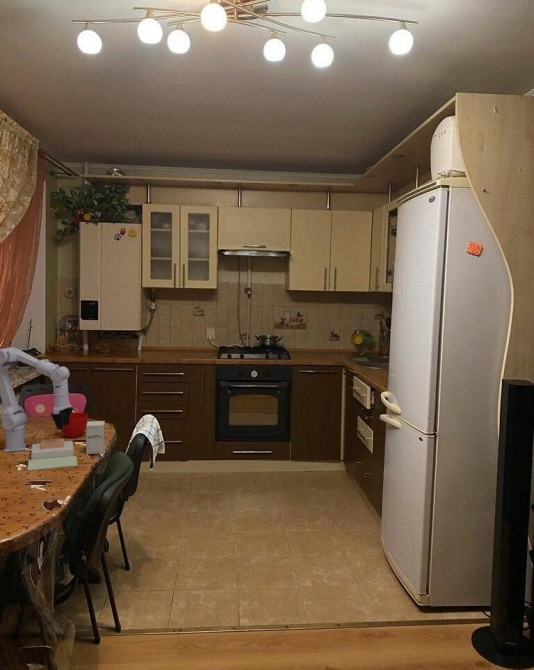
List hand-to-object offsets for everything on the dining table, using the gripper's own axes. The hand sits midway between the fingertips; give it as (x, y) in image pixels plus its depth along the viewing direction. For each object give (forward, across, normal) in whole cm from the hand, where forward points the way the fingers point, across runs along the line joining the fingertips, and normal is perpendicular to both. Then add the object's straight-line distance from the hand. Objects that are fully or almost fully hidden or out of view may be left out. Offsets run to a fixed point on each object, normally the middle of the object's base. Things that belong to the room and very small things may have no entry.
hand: (63, 427), depth 217 cm
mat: (+11, -15, 0) cm, 18 cm away
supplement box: (+12, +2, -12) cm, 17 cm away
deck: (+11, -2, +4) cm, 12 cm away
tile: (+8, -2, +4) cm, 9 cm away
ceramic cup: (+11, +26, +4) cm, 29 cm away
